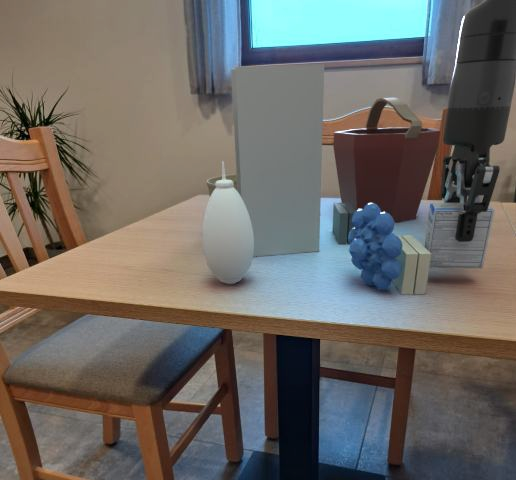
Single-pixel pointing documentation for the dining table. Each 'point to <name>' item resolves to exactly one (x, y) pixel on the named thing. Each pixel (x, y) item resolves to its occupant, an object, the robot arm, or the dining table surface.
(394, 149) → the bucket
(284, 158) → the tall grey box
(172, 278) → the dining table surface
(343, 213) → the grey booklets
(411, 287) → the cream booklets
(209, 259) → the white air blower bulb
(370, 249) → the grapes
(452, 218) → the medicine box
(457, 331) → the dining table surface
